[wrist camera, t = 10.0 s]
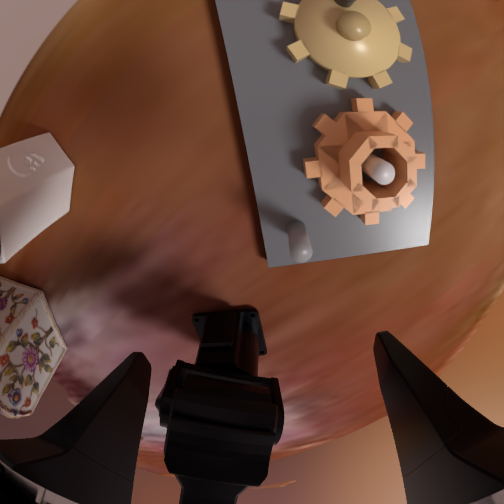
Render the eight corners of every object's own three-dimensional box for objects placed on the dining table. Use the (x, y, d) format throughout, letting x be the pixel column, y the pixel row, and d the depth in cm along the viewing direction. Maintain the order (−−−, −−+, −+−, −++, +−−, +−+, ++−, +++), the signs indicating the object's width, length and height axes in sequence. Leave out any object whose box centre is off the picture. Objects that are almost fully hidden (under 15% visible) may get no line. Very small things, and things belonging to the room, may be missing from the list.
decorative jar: (-4, 271, 26) (-71, 352, 10) (44, 287, 26) (-33, 394, 11) (22, 329, 32) (-26, 406, 16) (70, 349, 32) (22, 444, 17)
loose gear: (416, 212, 19) (439, 233, 15) (310, 225, 20) (318, 250, 17) (413, 99, 14) (441, 101, 11) (293, 102, 15) (300, 101, 12)
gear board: (423, 239, 21) (447, 266, 17) (268, 260, 23) (268, 295, 19) (399, -12, 10) (425, -30, 6) (214, -9, 12) (201, -35, 8)
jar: (91, 181, 20) (-11, 253, 9) (54, 233, 22) (-21, 306, 12) (41, 114, 16) (-65, 149, 6) (10, 173, 19) (-71, 224, 9)
